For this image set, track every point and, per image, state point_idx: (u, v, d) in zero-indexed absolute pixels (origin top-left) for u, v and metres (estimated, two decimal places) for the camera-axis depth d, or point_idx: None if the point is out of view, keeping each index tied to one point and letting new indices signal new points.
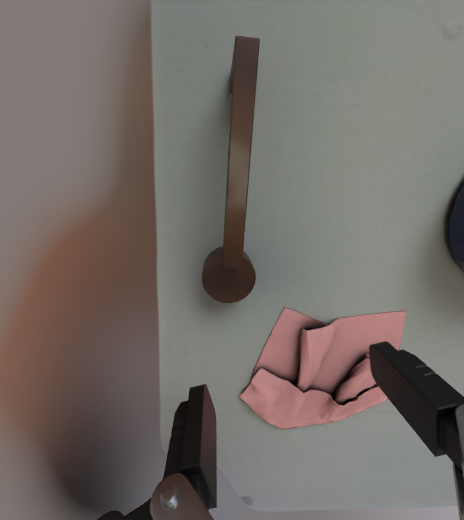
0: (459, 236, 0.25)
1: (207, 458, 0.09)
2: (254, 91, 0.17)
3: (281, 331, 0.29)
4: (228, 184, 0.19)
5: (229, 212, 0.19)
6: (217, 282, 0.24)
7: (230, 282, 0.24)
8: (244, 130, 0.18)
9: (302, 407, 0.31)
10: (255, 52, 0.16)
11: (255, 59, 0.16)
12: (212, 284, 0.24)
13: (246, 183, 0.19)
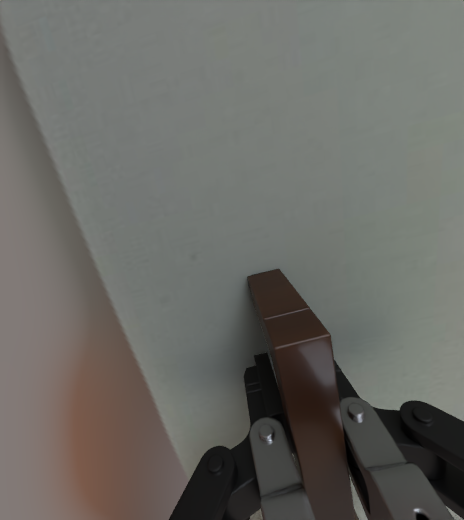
0: None
1: None
2: (339, 418, 0.08)
3: None
4: None
5: None
6: None
7: None
8: (332, 476, 0.08)
9: None
10: (327, 361, 0.07)
11: (329, 371, 0.07)
12: None
13: None
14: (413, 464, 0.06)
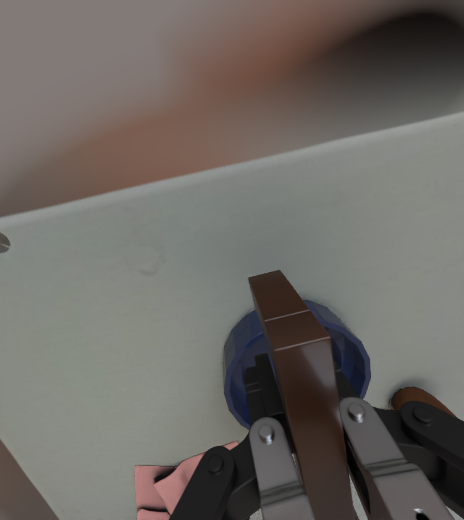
0: None
1: None
2: (339, 420, 0.08)
3: (142, 480, 0.35)
4: None
5: None
6: None
7: None
8: (332, 477, 0.08)
9: None
10: (327, 363, 0.07)
11: (329, 374, 0.07)
12: None
13: None
14: (413, 464, 0.06)
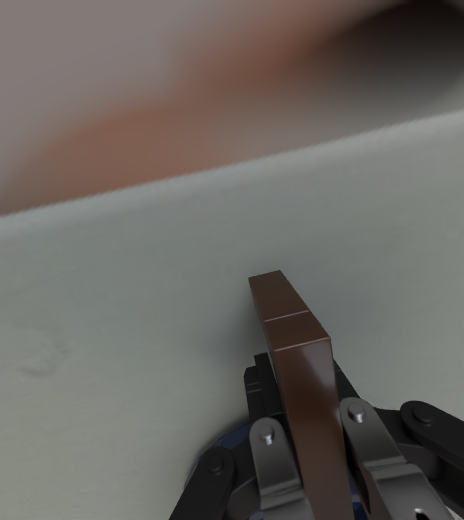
0: None
1: None
2: (338, 421, 0.08)
3: None
4: None
5: None
6: None
7: None
8: (332, 478, 0.08)
9: None
10: (326, 364, 0.07)
11: (329, 374, 0.07)
12: None
13: None
14: (413, 464, 0.06)
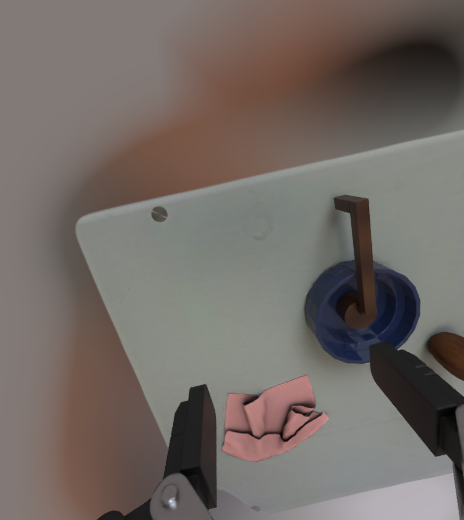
0: None
1: (207, 458, 0.09)
2: (369, 223, 0.30)
3: (231, 406, 0.46)
4: (362, 272, 0.32)
5: (365, 285, 0.33)
6: (354, 319, 0.38)
7: (362, 316, 0.38)
8: (367, 243, 0.31)
9: (263, 447, 0.48)
10: (367, 205, 0.29)
11: (367, 208, 0.29)
12: (351, 321, 0.38)
13: (372, 268, 0.32)
14: None
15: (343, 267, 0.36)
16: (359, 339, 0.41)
